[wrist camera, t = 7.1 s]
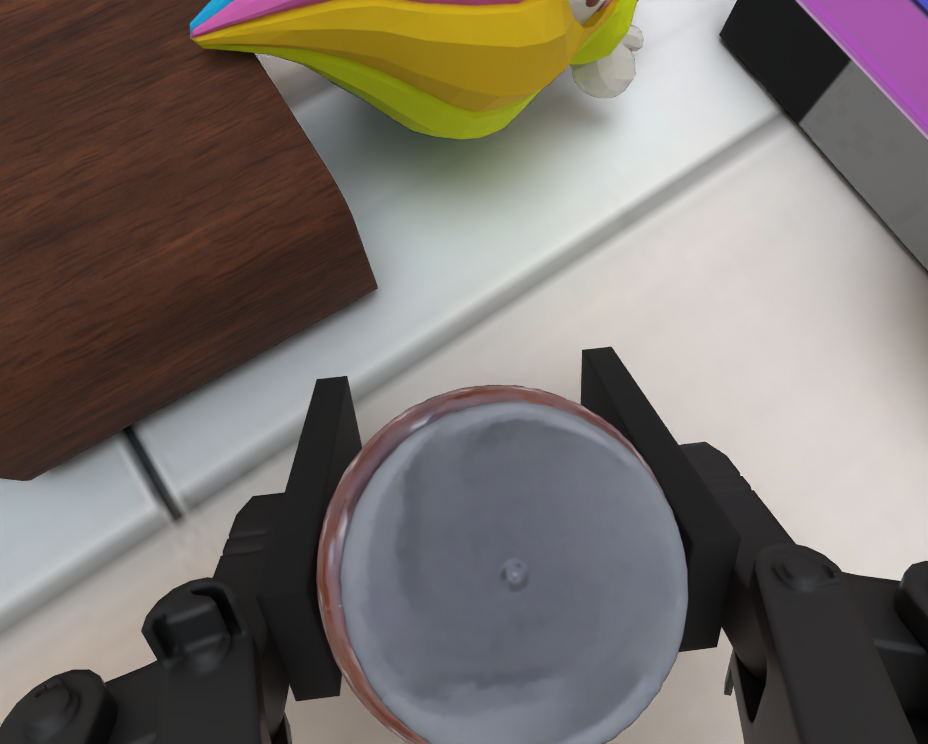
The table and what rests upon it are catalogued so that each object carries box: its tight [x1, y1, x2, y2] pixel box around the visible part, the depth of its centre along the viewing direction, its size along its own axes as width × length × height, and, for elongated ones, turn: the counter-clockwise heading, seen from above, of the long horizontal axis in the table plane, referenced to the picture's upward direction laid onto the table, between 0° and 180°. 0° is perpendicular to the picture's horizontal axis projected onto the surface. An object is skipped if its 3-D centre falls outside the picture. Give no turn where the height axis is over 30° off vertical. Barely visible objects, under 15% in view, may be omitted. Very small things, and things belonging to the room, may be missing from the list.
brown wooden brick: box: [0, 0, 377, 481], centre depth 18 cm, size 24×12×6 cm, turn 32°
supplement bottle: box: [316, 385, 688, 744], centre depth 12 cm, size 6×6×11 cm
